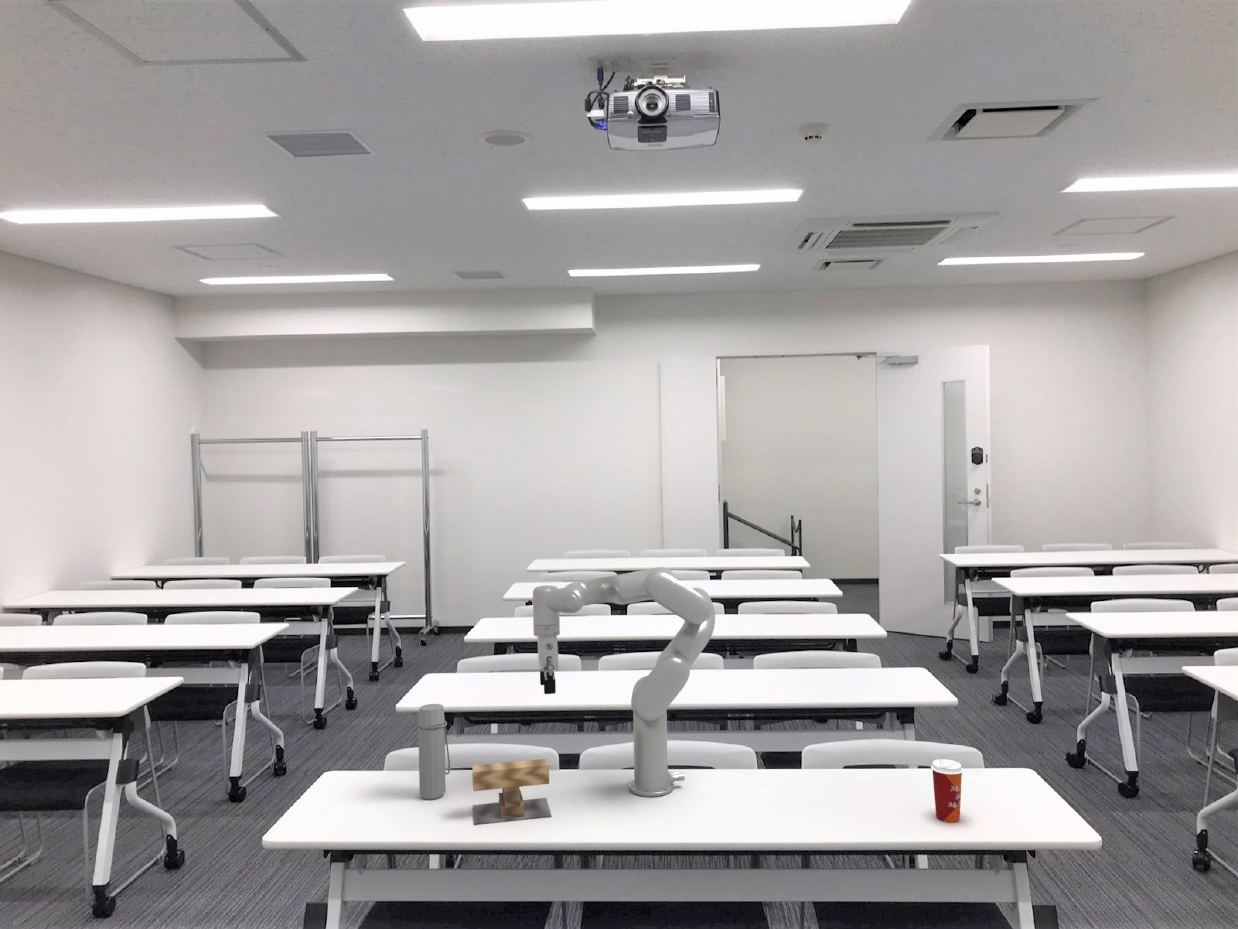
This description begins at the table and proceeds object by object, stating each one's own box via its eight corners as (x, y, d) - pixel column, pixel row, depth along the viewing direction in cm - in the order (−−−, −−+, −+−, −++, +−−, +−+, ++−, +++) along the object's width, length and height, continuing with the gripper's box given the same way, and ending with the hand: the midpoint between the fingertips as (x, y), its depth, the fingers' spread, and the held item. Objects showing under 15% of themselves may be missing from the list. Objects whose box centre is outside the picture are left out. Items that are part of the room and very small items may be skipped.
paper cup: (961, 827, 210) (960, 771, 210) (929, 820, 214) (927, 765, 214) (966, 815, 217) (965, 761, 217) (935, 809, 221) (934, 756, 221)
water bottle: (427, 803, 232) (426, 712, 231) (414, 795, 237) (412, 706, 237) (457, 794, 238) (455, 705, 238) (443, 786, 244) (441, 700, 243)
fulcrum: (546, 799, 233) (545, 772, 233) (551, 816, 221) (550, 788, 221) (472, 806, 229) (472, 779, 229) (474, 825, 217) (473, 796, 217)
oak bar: (547, 777, 229) (546, 758, 229) (549, 783, 225) (548, 765, 225) (472, 784, 225) (472, 765, 225) (473, 791, 220) (473, 772, 220)
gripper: (563, 634, 233) (565, 696, 233) (555, 623, 250) (556, 680, 250) (536, 636, 232) (538, 698, 232) (530, 624, 249) (531, 682, 249)
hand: (547, 689), depth 241 cm, fingers open, 9 cm apart
